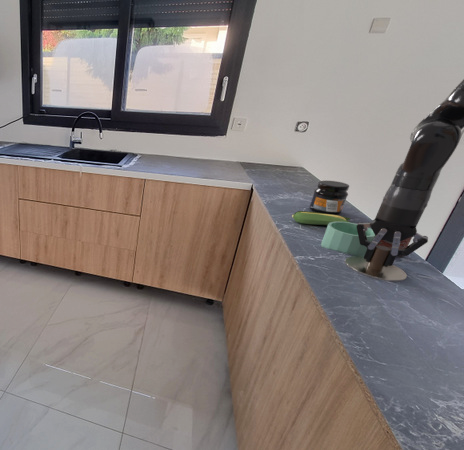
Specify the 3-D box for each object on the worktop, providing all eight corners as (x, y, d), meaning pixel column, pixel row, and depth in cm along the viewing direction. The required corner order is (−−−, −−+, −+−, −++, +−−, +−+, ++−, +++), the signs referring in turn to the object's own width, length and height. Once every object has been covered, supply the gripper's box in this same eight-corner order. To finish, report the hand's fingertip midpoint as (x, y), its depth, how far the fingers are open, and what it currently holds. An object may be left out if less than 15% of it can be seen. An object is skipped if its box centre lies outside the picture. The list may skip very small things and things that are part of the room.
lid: (406, 271, 85) (418, 248, 82) (402, 290, 77) (415, 265, 74) (348, 255, 93) (357, 233, 90) (339, 270, 86) (348, 247, 83)
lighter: (369, 251, 97) (381, 222, 93) (367, 247, 100) (379, 218, 96) (405, 258, 93) (419, 228, 89) (402, 253, 95) (416, 224, 91)
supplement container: (331, 218, 122) (341, 188, 117) (302, 209, 131) (311, 182, 126) (346, 213, 126) (357, 185, 121) (318, 205, 135) (327, 178, 130)
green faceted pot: (370, 250, 98) (379, 228, 95) (364, 263, 91) (374, 240, 88) (325, 238, 106) (332, 218, 103) (317, 249, 99) (324, 228, 96)
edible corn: (288, 219, 121) (292, 208, 120) (351, 225, 115) (356, 214, 113) (292, 224, 117) (296, 213, 115) (358, 231, 111) (363, 219, 109)
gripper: (446, 207, 75) (414, 268, 82) (368, 194, 84) (345, 249, 91) (445, 215, 70) (412, 279, 77) (363, 200, 80) (340, 258, 87)
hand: (376, 263), depth 84 cm, fingers closed on lid, 3 cm apart
